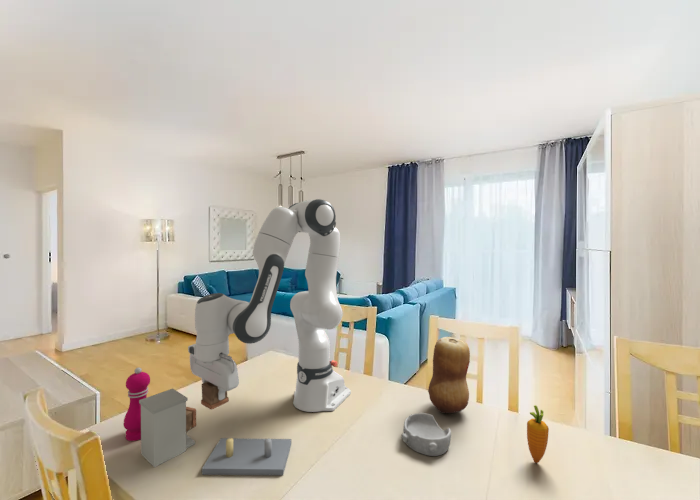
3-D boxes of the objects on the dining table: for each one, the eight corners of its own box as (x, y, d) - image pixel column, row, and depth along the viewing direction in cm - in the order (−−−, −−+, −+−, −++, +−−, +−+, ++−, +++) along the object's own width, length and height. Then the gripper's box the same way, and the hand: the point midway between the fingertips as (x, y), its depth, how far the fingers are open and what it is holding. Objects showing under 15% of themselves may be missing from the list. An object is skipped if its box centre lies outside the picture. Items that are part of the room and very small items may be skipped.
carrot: (546, 472, 83) (549, 415, 82) (524, 464, 85) (527, 409, 85) (547, 461, 87) (549, 406, 86) (526, 454, 89) (528, 401, 89)
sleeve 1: (181, 422, 101) (181, 405, 101) (196, 425, 100) (196, 408, 100) (165, 433, 96) (165, 415, 95) (180, 436, 94) (180, 419, 94)
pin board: (220, 443, 91) (220, 424, 91) (291, 444, 92) (291, 425, 92) (202, 474, 79) (202, 452, 79) (283, 475, 80) (283, 453, 80)
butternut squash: (468, 425, 103) (471, 348, 102) (425, 416, 107) (427, 342, 106) (468, 404, 116) (470, 335, 115) (430, 397, 120) (432, 331, 119)
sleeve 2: (218, 395, 99) (217, 376, 99) (229, 401, 96) (228, 381, 95) (200, 403, 95) (199, 384, 94) (211, 410, 91) (210, 389, 91)
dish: (419, 422, 104) (419, 407, 104) (459, 442, 94) (460, 426, 94) (391, 441, 94) (391, 425, 94) (433, 466, 84) (434, 448, 84)
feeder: (182, 434, 95) (182, 385, 95) (197, 445, 90) (197, 394, 90) (139, 454, 86) (139, 400, 86) (153, 468, 81) (153, 411, 81)
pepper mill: (138, 444, 90) (138, 374, 90) (117, 440, 92) (116, 371, 91) (158, 429, 98) (158, 364, 97) (138, 425, 99) (138, 361, 98)
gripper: (243, 354, 90) (245, 401, 91) (204, 339, 103) (206, 382, 104) (223, 361, 85) (225, 412, 86) (184, 345, 98) (187, 390, 99)
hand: (214, 395), depth 95 cm, fingers closed on sleeve 2, 5 cm apart
